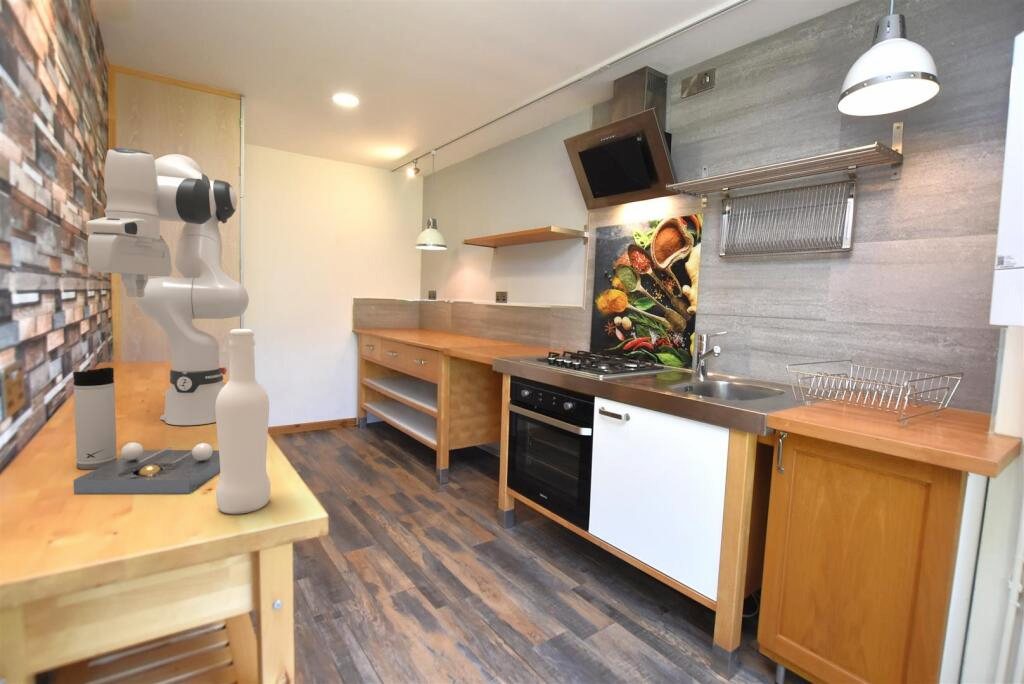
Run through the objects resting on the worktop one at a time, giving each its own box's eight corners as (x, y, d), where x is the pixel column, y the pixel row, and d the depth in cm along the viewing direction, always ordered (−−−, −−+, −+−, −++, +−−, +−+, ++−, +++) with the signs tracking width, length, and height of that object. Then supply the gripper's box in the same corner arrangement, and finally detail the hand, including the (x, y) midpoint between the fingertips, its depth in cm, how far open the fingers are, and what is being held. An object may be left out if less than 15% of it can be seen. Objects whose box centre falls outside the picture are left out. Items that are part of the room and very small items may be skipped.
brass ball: (144, 483, 93) (147, 464, 94) (164, 483, 93) (167, 464, 94) (132, 484, 90) (135, 464, 90) (152, 484, 90) (156, 464, 91)
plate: (138, 461, 103) (138, 446, 103) (234, 462, 105) (233, 446, 104) (74, 493, 86) (73, 475, 86) (189, 493, 88) (188, 475, 88)
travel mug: (95, 471, 97) (91, 370, 95) (68, 468, 98) (64, 368, 96) (126, 461, 103) (123, 366, 101) (100, 458, 104) (96, 364, 102)
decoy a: (198, 457, 99) (197, 440, 99) (216, 457, 100) (216, 440, 99) (188, 463, 96) (187, 445, 96) (207, 463, 96) (206, 445, 96)
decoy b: (129, 457, 98) (128, 439, 98) (147, 457, 99) (147, 440, 98) (116, 463, 95) (116, 445, 94) (136, 463, 95) (135, 445, 95)
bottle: (247, 492, 89) (245, 326, 87) (281, 501, 86) (280, 329, 84) (204, 510, 82) (201, 328, 79) (240, 519, 79) (238, 331, 76)
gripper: (149, 235, 112) (151, 296, 113) (78, 221, 91) (81, 296, 93) (179, 236, 112) (180, 297, 113) (115, 222, 92) (117, 297, 93)
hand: (135, 296), depth 103 cm, fingers closed
